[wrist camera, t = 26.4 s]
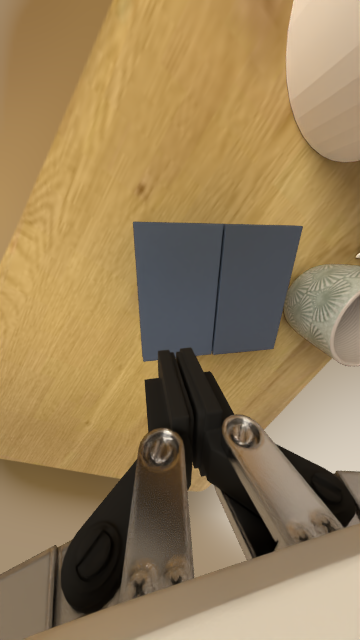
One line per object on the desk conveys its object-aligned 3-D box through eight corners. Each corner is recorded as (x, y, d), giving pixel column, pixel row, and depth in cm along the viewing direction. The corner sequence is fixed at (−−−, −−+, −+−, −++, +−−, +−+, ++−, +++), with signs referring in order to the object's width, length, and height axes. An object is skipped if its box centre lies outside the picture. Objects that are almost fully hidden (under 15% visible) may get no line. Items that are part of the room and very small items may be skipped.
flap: (143, 359, 21) (143, 361, 21) (133, 222, 16) (133, 222, 15) (210, 352, 22) (211, 354, 22) (221, 224, 17) (223, 224, 17)
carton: (141, 321, 30) (142, 362, 21) (134, 224, 25) (132, 221, 15) (235, 315, 33) (274, 349, 23) (247, 226, 27) (304, 225, 18)
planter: (305, 340, 38) (364, 378, 28) (259, 311, 33) (311, 345, 23) (354, 283, 34) (441, 304, 25) (311, 242, 30) (396, 248, 20)
